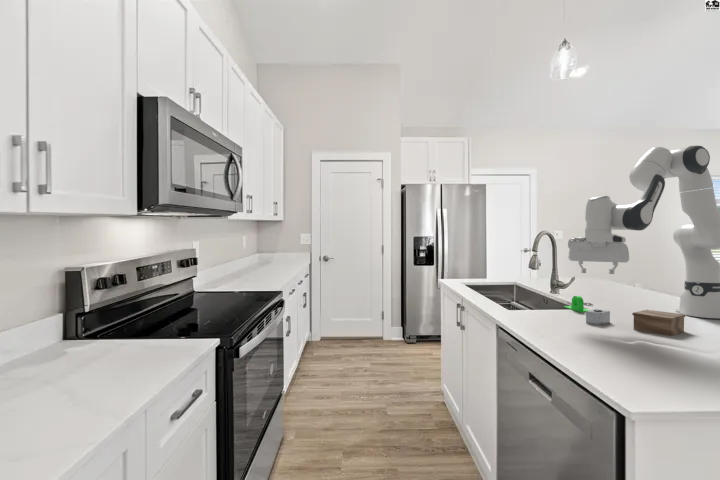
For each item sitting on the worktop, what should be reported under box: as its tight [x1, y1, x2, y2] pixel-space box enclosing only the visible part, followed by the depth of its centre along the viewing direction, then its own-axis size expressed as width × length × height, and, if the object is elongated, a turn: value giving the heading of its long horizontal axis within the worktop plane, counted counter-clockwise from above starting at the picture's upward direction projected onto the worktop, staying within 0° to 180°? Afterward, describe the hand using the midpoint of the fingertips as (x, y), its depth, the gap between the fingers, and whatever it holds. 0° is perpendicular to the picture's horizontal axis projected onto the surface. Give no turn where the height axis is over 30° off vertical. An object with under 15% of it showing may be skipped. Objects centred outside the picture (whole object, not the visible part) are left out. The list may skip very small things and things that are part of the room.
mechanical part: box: [562, 295, 590, 313], centre depth 182 cm, size 12×6×8 cm, turn 4°
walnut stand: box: [631, 309, 686, 337], centre depth 146 cm, size 12×12×6 cm
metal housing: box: [585, 309, 611, 326], centre depth 158 cm, size 8×5×5 cm, turn 124°
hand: (597, 273), depth 157 cm, fingers open, 8 cm apart
